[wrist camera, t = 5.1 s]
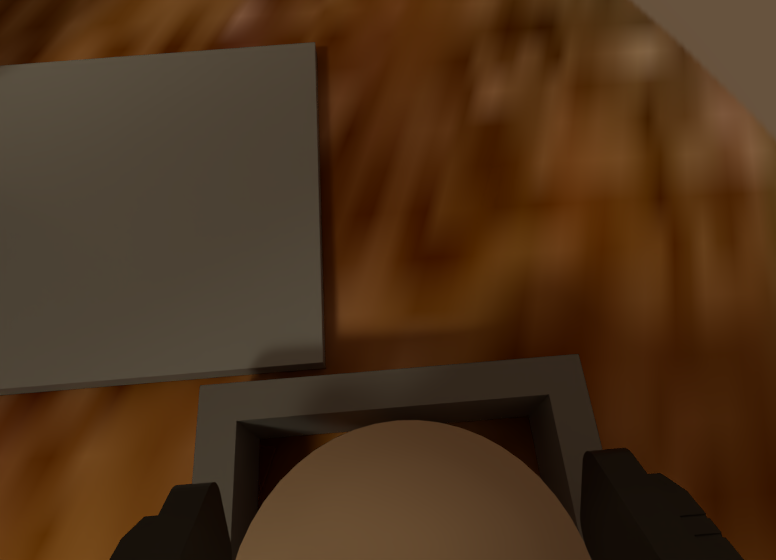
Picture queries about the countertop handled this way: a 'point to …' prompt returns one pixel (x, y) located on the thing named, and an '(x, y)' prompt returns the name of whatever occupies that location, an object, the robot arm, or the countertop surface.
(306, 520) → the cream jar
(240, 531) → the grey holder
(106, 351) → the slate tile
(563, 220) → the countertop surface
